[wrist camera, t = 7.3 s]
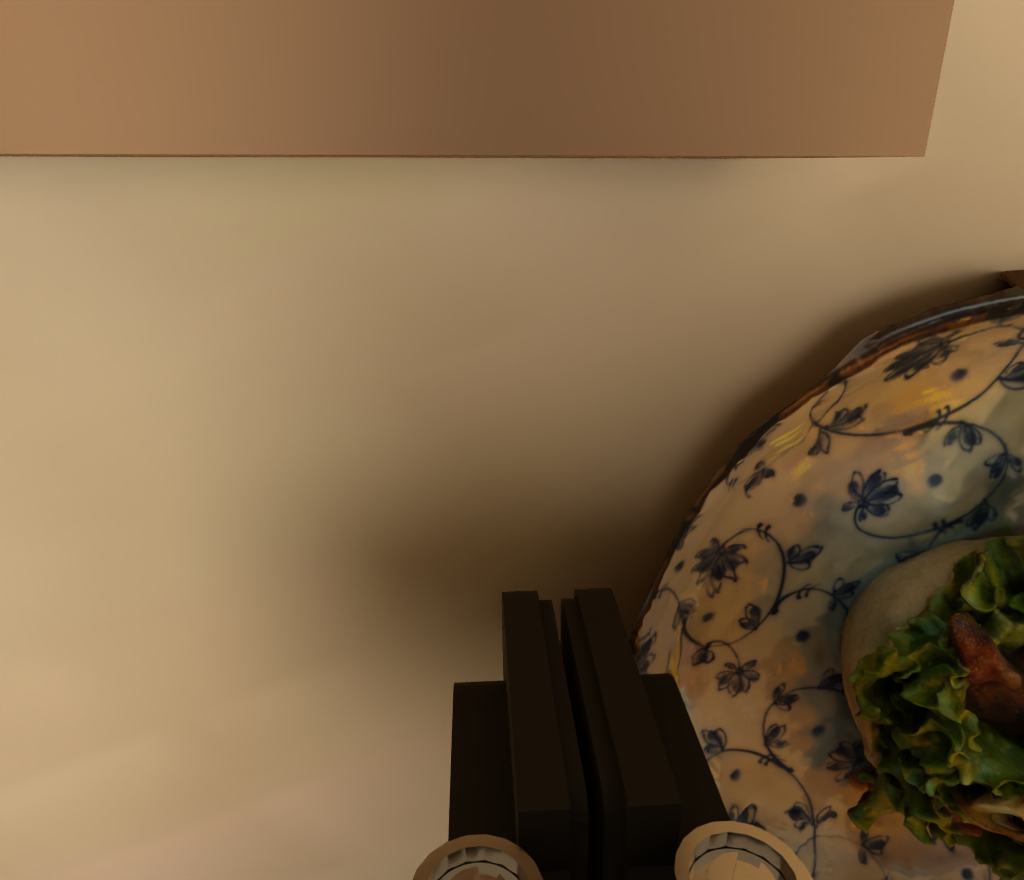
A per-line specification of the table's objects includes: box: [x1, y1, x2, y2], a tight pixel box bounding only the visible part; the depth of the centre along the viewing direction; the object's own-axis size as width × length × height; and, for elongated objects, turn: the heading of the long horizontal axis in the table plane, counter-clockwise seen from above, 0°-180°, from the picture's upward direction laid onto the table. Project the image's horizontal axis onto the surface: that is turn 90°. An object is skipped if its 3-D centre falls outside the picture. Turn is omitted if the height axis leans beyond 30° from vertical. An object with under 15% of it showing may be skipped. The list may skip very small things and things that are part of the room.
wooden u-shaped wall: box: [0, 0, 954, 158], centre depth 10 cm, size 20×17×4 cm
